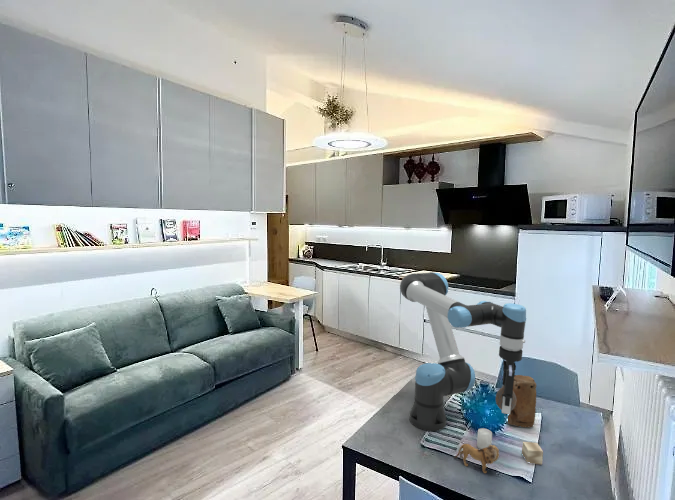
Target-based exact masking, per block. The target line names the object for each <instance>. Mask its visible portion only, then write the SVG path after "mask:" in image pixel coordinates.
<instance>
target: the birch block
mask: <svg viewBox="0 0 675 500" xmlns="http://www.w3.org/2000/svg"><path fill="white" fill-rule="evenodd" d="M521 449H522V450H521V455H522V454H523V456H524V457H525V459H526V460H525V459H524V460H525V462H526V461H527V462H530V463H535V464H534V465H543V461H544V460H543V458H544V457H543V456H544V451H543V449H542V448H541V446H540V445H539V443H538V442H532V441H531V442H530V441H522V447H521ZM523 456H522V457H523ZM524 457H523V458H524ZM527 462H526V463H527Z"/></svg>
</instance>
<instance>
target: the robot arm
mask: <svg viewBox="0 0 675 500" xmlns="http://www.w3.org/2000/svg"><path fill="white" fill-rule="evenodd" d="M399 292H400V294H401V295H402V297H404V299H406V300H408V301H410V302H412V303H419V304H421V305H422V306H425V310H426V313H427V316H428V319H429V323H430V326H431V331H432V335H433V338H434V342H435V346H436V349H437V352H438V356H439V360H438V361H437V363H435V362H433V363H432V362H427V363H426V362H425V363H423V364H420V365H419V366H418V367H417V368H416V370H415V376H414V380H415V381H414V401H413V404H412V406H411V407H410V408H411V409H410V411H409V415H408V416H409V422H410V423H411V424H412V425H413V426H414V427H415V428H418V429H420V430H424V431H428V432H437V430H438V431H440V430H443V429H444V428H446V426H447V415H446V411H445V408H444V397H445V396H446V397H447V396H452V395H456V394H461V393H466V392H468V391H471V390H472V388H473V387H474V386H475V383H476V372H475V369H474V367H473V366H471V364H470V363H469V362H466V359H465V357H464V356H462V355H461V354H460V352H459V349H458V345H457V342H456V338H455V334H454V331H453V327H454V328H463V329H464V328H468V327H469V328H470V327H474V326H475V327H476V326H485V325H493V326H496V327H499V328H500V334H499V335H500V336H499V351H498V356H499V357H500V359H502V360H503V362H502V365H503V367H502V368H503V369H502V370H503V372H502V373H503V374H502V385H501V388H502V387H503V385H505V387H504V394H502V396H503V403H502V410H501V414H504V415H505V414H510V410H511V400H512V397H513V396H512V395H513V383H514V377H515V374H516V368H517V366H516V362H517V363H518V362H520V361H522V359H523V350H522V349H523V347H524V344H525V343H526V340H525V338H524V337H525V329H526V322H527V308H526V307H525V306H524V305H522V304H519V303H512V302H511V303H510V302H508V303H505V304H504V305H499V304H497V303H494V302H491V301H486V300H481V301H479V302H478V303H476V304H469V305H467V304H464V303H462V302H460V301H458V300H455V299H454V298H452V297H449V296H447V294H448V292H449V283H448V280H447V279H446V277H445V276H444V275H443V274H441V273H439V272H421V273H420V272H419V273H410V274H407V275H406V276H404V277H403V278H402V280H401V282H400V284H399Z"/></svg>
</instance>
